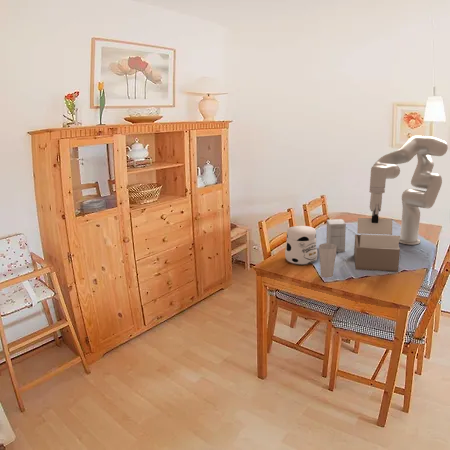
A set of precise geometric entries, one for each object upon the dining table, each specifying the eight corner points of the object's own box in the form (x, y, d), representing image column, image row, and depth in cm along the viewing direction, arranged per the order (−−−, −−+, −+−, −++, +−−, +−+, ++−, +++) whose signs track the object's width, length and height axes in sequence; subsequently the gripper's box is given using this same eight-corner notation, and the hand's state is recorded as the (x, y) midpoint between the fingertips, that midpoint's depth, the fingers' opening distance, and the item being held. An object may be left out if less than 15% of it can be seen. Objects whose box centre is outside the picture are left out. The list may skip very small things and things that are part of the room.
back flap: (357, 233, 212) (357, 233, 213) (392, 234, 208) (392, 234, 208) (357, 217, 213) (357, 218, 213) (392, 218, 208) (392, 218, 208)
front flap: (360, 234, 188) (360, 234, 188) (400, 235, 183) (400, 236, 183) (359, 246, 194) (359, 247, 193) (397, 248, 189) (397, 248, 189)
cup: (336, 279, 189) (337, 249, 184) (318, 278, 190) (319, 249, 186) (335, 272, 196) (336, 243, 192) (318, 271, 198) (318, 242, 194)
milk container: (315, 268, 201) (316, 236, 196) (282, 266, 207) (282, 234, 201) (318, 256, 217) (319, 225, 212) (287, 254, 222) (287, 224, 217)
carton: (354, 254, 216) (355, 234, 213) (392, 256, 211) (394, 236, 207) (355, 269, 198) (356, 247, 194) (398, 272, 193) (400, 249, 189)
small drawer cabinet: (342, 246, 230) (343, 218, 225) (345, 251, 221) (346, 223, 216) (325, 246, 231) (326, 219, 226) (328, 252, 222) (329, 224, 217)
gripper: (368, 186, 212) (366, 218, 217) (370, 192, 198) (368, 226, 204) (383, 186, 210) (380, 219, 215) (386, 192, 196) (383, 227, 202)
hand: (374, 222), depth 209 cm, fingers closed
